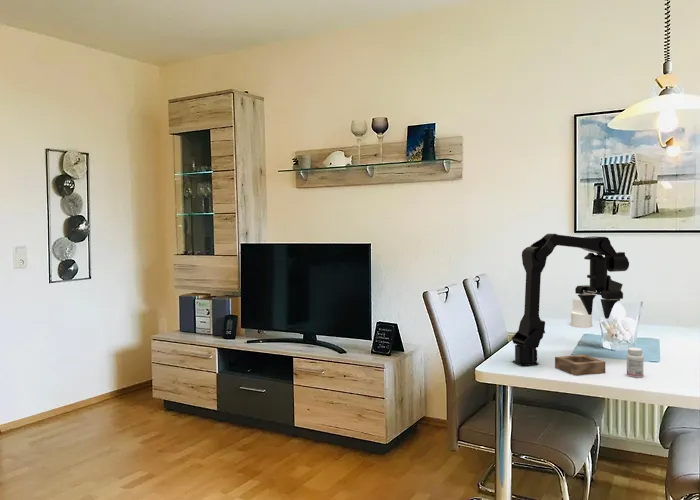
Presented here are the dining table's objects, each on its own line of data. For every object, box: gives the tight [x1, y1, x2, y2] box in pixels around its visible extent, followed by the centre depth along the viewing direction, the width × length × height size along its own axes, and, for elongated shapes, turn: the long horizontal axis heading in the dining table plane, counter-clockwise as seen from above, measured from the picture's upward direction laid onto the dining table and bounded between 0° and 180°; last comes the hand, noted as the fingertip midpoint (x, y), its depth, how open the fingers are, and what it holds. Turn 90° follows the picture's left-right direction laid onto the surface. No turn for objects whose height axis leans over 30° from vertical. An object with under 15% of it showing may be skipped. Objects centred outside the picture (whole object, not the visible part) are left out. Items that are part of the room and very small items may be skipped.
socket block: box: [554, 354, 606, 376], centre depth 196 cm, size 11×11×4 cm
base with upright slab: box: [570, 298, 593, 329], centre depth 275 cm, size 9×9×12 cm
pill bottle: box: [626, 347, 644, 378], centre depth 189 cm, size 5×5×8 cm
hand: (598, 316), depth 212 cm, fingers open, 9 cm apart
